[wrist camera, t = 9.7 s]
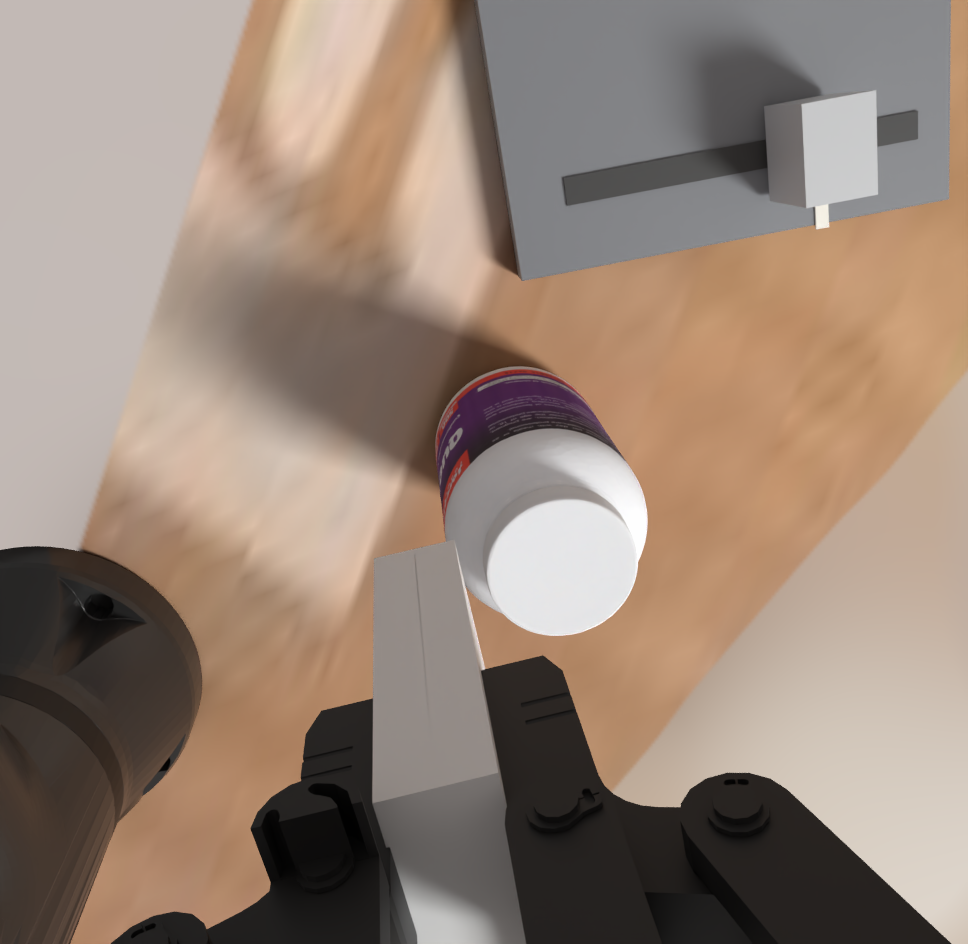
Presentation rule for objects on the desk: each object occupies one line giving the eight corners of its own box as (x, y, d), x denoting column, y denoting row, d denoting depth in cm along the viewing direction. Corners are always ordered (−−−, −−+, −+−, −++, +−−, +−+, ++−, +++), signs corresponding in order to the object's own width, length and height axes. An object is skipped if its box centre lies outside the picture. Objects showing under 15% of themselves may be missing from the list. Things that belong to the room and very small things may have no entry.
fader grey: (769, 200, 41) (806, 208, 38) (764, 106, 40) (801, 104, 36) (834, 188, 41) (878, 194, 38) (831, 93, 40) (876, 90, 36)
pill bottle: (421, 375, 45) (430, 483, 31) (584, 348, 45) (663, 443, 31) (448, 525, 48) (467, 683, 34) (600, 499, 48) (679, 646, 34)
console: (518, 280, 43) (523, 285, 42) (454, -119, 38) (457, -129, 36) (931, 201, 44) (950, 203, 42) (932, -207, 38) (954, -221, 36)
